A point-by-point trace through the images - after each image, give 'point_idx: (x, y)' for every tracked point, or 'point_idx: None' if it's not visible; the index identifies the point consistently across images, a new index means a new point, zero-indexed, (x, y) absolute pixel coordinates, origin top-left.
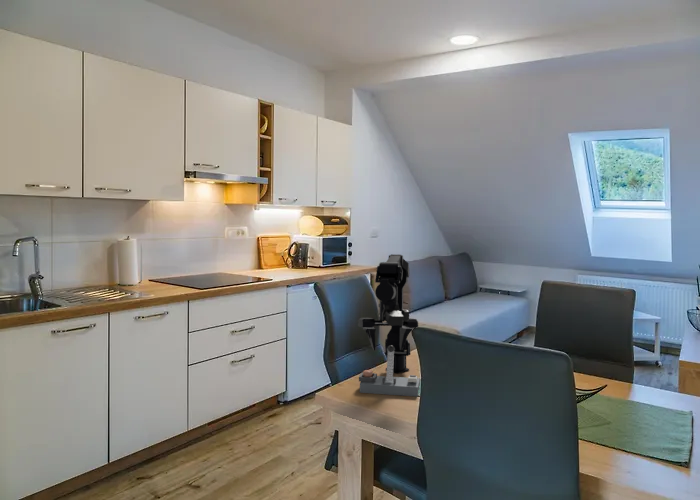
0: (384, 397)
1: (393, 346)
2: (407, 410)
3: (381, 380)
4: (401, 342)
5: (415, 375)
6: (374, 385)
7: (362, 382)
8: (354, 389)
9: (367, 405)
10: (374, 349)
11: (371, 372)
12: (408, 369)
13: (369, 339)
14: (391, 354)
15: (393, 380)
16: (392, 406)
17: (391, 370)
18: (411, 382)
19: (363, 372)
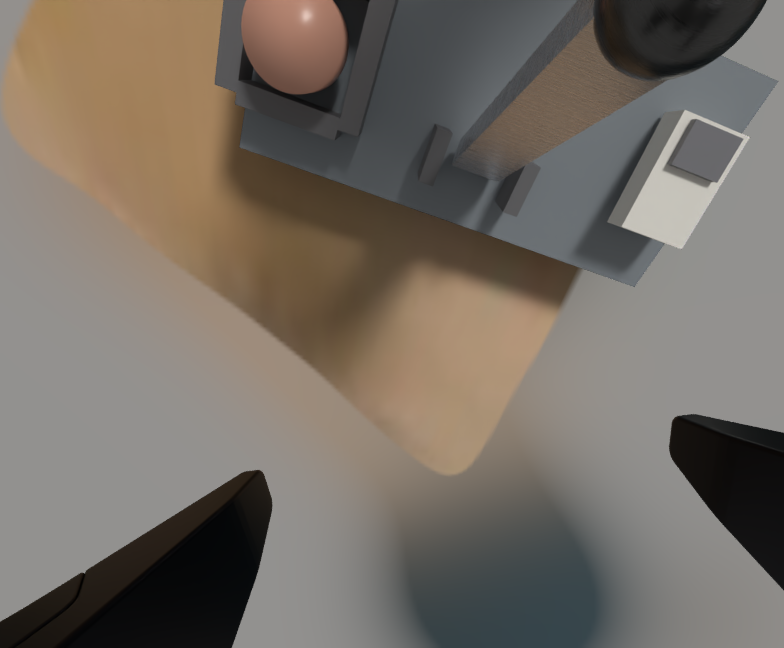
0: (410, 247)
1: (760, 5)
2: (477, 412)
3: (425, 89)
4: (770, 543)
5: (733, 145)
6: (353, 185)
7: (261, 120)
8: None
9: (303, 338)
10: (261, 517)
11: (326, 80)
12: None
13: (90, 583)
14: (608, 84)
15: None
16: (423, 365)
17: (518, 157)
18: None
19: (246, 47)
